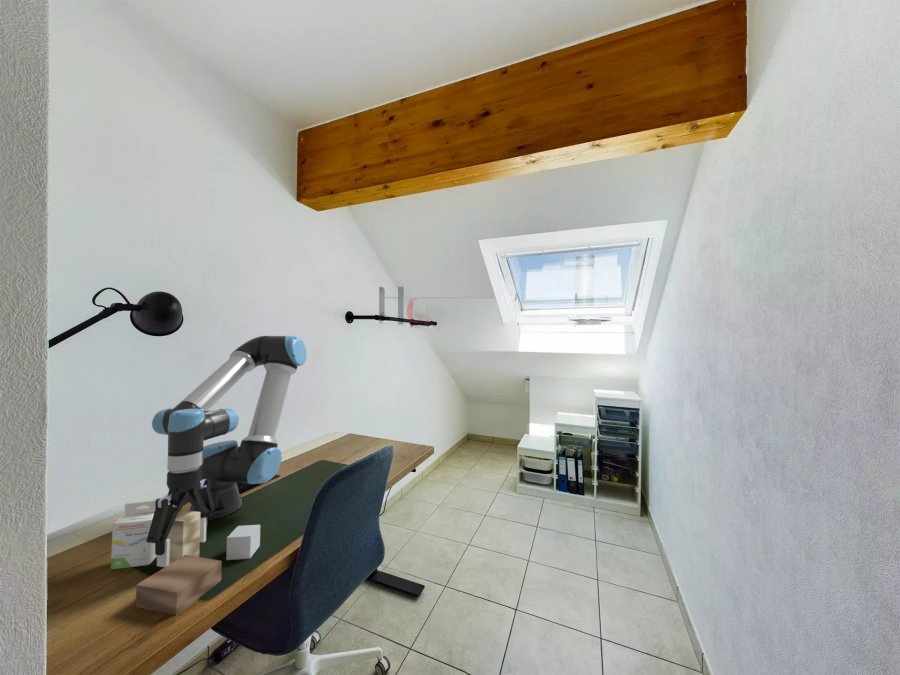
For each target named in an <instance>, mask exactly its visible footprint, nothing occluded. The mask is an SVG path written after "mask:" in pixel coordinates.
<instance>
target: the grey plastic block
mask: <svg viewBox="0 0 900 675" xmlns="http://www.w3.org/2000/svg"><path fill="white" fill-rule="evenodd" d="M260 546H261V524H249V525H246V524H245V525H238V526H236V527H235V528H234V530H233V531H232V532H231V533H230V534H229V535H228V536H227V537H226V558H225V560H226V561H231V560H234V561H235V560H246V559H247V560H248V559H251V558H252V557H253V555H254V554H255V553H256V551H257V550H258V548H259V547H260Z"/></svg>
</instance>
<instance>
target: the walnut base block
mask: <svg viewBox="0 0 900 675" xmlns="http://www.w3.org/2000/svg"><path fill="white" fill-rule="evenodd" d="M222 562H223V561H222V560H218V559H212V558H208V557H207V558H206V557H201V556H199V557H195V556H189V555H184V556H183V557H181V558H179V559H178V560H176V561H174V562H173V563H171V564H169V565H168V566H166V567H162V568H161V569H160V570H158V571H156V572H155V573H153V574H152V575H150V576H148V577H147V578H145V579H143V580H141V581H140V582H138V583H137V584H136V590H135V591H136V592H135V607H136V608H141V609H145V610H150V611H155V612H158V613H159V612H160V613H163V614H169V615H175V616H177V615H179V614H180V613H181V612H182V611H184V610H185V609H186V608H188V607H189V606H190V605H192V604H193V603H194V602H195V601H196V600H198V599H199V598H200V597H201V596H203V595H204V594H206V593H207V592H208V591H210V590H211V589H212V588H213V587H215V586H216V585H217V584H218V583H220V582H221V581H222V570H223V569H222V565H223V564H222Z"/></svg>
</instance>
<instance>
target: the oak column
mask: <svg viewBox="0 0 900 675" xmlns="http://www.w3.org/2000/svg"><path fill="white" fill-rule="evenodd" d="M167 539H170V554H169V564H171V563H173V562H174V561H176V560H178V559H179V558H181V557H183V556H184V555H189V556H195V557H200V543H201V542H200V512H195V511H189V510H183V511H180V512H178V514H177V517H176V519H175V521H174V523H173V526H172V528H171V530H170V532H169V535H168V537H167Z"/></svg>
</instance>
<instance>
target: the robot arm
mask: <svg viewBox="0 0 900 675" xmlns="http://www.w3.org/2000/svg"><path fill="white" fill-rule="evenodd" d="M306 359H307V348H306V345H305V343H304V341H303V339H302V338H301V337H299V336H297V335H296V336H294V335H262V336H256V337H255V338H252V339H250V340H248V341H246V342H244V343H243V344H241V345H240V346H238V347H237V348H236V349H235V350H234V351H232V352H231V353H230V354H229V358H228V359H227V360H226V361H225V362H224V363H222V364H221V366H220V367H219V368H217V369H216V370H215V371H214V372H213V373H211V374H210V376H208V377H207V378H206V379H204V380H203V382H201V383H200V385H198V386H197V387H196V388H195V389H193V390H192V391H191V392H190V393H189V394H188V395H187V396H186V397H185V398H183V399H182V400H180V402H179V403H178V404H176V406H174V407H173V408H165V409H161V410H159V411H158V412H156V413H155V415H153V418H152V420H151V421H152V422H151V427H152V429H153V431H154V432H155V433H156V434H158V435H166V436H167V461H166V462H167V466H166V467H167V468H166V470H167V471H168V472H167V473H166V486H167V488H168V492H167V494H166V496H164V497H162V498H156V499H155V500H154V501H155V512H154V516H153V519H152V523H151V526H150V529H149V533H148V536H147V540H146V542H147V543H155V555H157V557H156V567H160V568H165V567H166V566H168V565H169V554H170V539H167V537H168V535H169V532H170V530H171V528H172V526H173V523H174V521H175V519H176V517H177V514H179V513H180V512H182V510H183V507H185V505H187V504H188V503H189V504H191V505H190V507H189V509H188V511H195V512H200V543H205V542H206V541H207V528H208V523H209V521H208V520H210V521H214V520H213V519H215V520H218V519H217V518H219V519H223V518H225V517H224V516H226V517H228V516H230V515H229V514H231V513H233V512H234V511H236V510H237V509H239V508H240V506H241V505H243V501H242V500H243V499H242V496H241V495H240V492H239V488H238V484H250V485H255V484H266V483H268V482H269V481H270V480H272V479H273V478H274V477H275V475H277V472H278V471H279V469H280V468H281V467H280V466H281V464H282V458H283V457H282V451H281V449H280V448H278V445H279V442H278V441H277V440H276V435H277V432H278V427H279V423H280V420H281V416H282V411H283V407H284V404H285V400H286V395H287V391H288V388H289V384H290V380H291V376H292V375H293V374H295V373H296V372H297V370H298V367H300V366H303V365H304V363H306ZM259 366H260V367H261V366H263V368H264V369H265V371H266V372H265V375H264V380H263V382H262V383H263V384H262V387H261V389H260V393H259V396H258V400H257V403H256V407H255V409H254V410H255V411H254V414H253V417H252V421H251V424H250V427H249V430H248V434H247V436H246V437H244V438H242V439H241V442H240V445H239V443H238V441H237V440H235V439H233V440H224V441H219V442H213V443H210V444H208V445H204V442H205V441H206V440H207V441H208V440H211V439H213V438H216V437H219V436H225V435H226V434H229V433H231V432H233V431H234V430H236V429H237V428H238V425H239V420H240V418H239V415H238V413H237V411H235V410H234V409H232V408H228V407H227V408H220V409H217V410H216V409H215V410H210V409H211V408H212V407H213V406H214V405H215V404H216V403H217V402H218V401H220V399H221V398H222V397H224V395H226V393H227V392H229V390H230V389H231V388H233V386H234V385H235V384H236V383H237V382H238V381H239V380H240V379H242V377H243V376H244V375H245V374H246V373H248V372H249V373H250V372H252V371H253V370H254V369H255V368H257V367H259ZM241 507H242V506H241ZM240 509H241V508H240ZM240 509H239V510H240ZM236 512H237V511H236ZM233 514H234V513H233ZM227 515H228V516H227ZM231 515H232V514H231ZM222 517H223V518H222Z"/></svg>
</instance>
